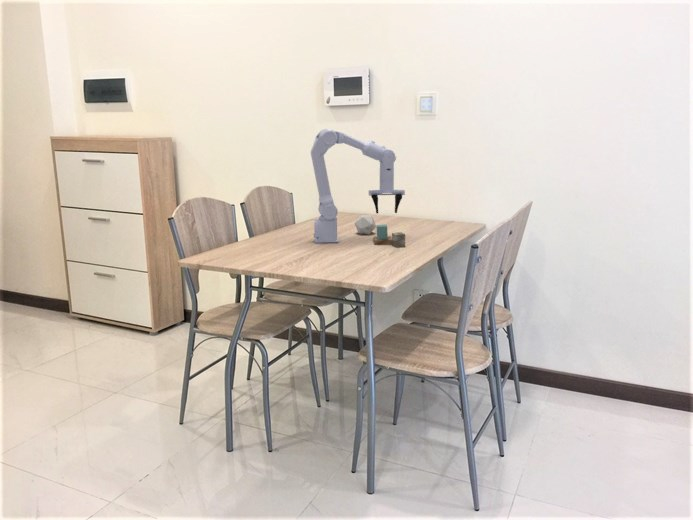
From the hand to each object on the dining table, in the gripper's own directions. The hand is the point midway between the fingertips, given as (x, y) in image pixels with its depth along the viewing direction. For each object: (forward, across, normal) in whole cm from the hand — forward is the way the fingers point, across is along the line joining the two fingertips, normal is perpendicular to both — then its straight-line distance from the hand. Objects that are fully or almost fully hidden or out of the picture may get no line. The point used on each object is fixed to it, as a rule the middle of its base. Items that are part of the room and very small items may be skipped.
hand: (386, 212), depth 238 cm
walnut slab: (+11, -2, -10) cm, 15 cm away
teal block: (+8, -3, -10) cm, 13 cm away
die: (+11, -8, +10) cm, 17 cm away
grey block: (+10, +3, -16) cm, 19 cm away
